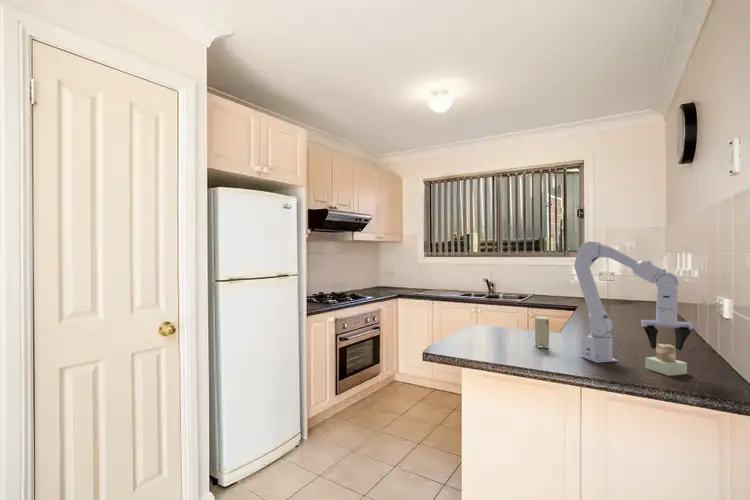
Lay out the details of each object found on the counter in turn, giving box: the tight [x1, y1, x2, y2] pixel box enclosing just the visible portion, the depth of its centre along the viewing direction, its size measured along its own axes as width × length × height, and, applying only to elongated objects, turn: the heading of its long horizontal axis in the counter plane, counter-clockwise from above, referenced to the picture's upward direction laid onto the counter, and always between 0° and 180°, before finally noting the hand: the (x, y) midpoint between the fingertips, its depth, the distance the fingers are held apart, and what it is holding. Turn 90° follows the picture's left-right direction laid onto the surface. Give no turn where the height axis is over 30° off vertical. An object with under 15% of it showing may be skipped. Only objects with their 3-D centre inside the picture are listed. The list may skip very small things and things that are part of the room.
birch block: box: [655, 343, 677, 362], centre depth 130 cm, size 4×4×5 cm
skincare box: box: [534, 316, 550, 349], centre depth 160 cm, size 6×4×12 cm
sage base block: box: [644, 356, 688, 377], centre depth 130 cm, size 8×8×4 cm
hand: (665, 348), depth 130 cm, fingers open, 7 cm apart
